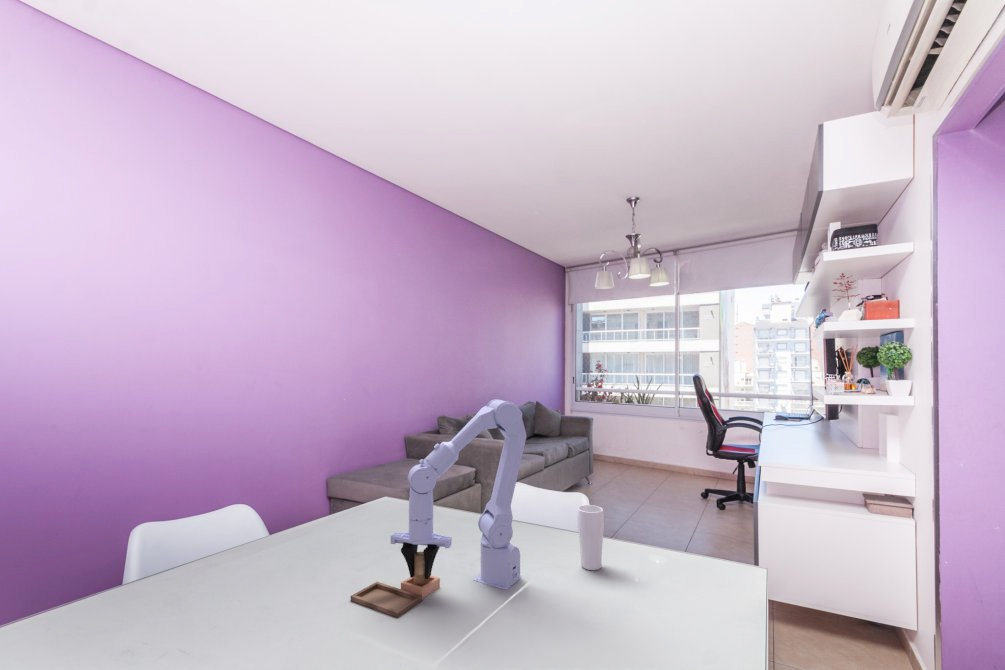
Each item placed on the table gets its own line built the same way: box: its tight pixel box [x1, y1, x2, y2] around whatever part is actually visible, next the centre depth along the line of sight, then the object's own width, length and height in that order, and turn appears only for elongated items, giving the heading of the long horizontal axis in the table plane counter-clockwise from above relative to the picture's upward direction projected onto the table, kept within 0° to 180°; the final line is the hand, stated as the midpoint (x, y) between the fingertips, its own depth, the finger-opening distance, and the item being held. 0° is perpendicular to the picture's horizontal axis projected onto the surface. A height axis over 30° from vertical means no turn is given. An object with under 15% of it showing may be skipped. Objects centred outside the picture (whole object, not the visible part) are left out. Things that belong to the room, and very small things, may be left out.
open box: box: [400, 575, 441, 599], centre depth 109 cm, size 6×6×2 cm
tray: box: [350, 581, 423, 619], centre depth 104 cm, size 14×8×2 cm, turn 59°
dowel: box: [414, 551, 427, 587], centre depth 109 cm, size 3×3×8 cm
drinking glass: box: [577, 504, 605, 571], centre depth 122 cm, size 7×7×15 cm
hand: (420, 576), depth 109 cm, fingers open, 3 cm apart
